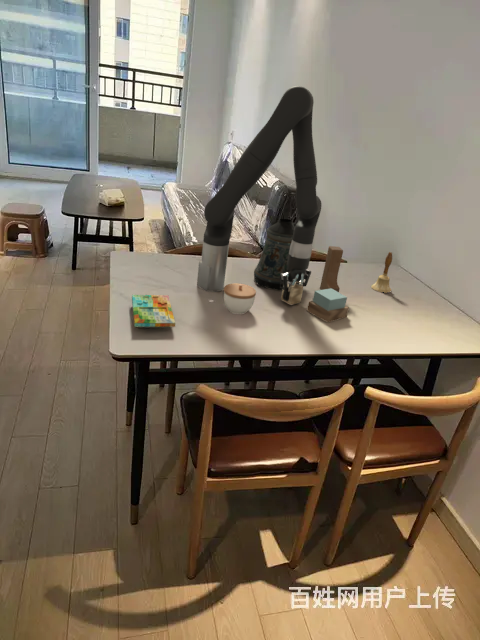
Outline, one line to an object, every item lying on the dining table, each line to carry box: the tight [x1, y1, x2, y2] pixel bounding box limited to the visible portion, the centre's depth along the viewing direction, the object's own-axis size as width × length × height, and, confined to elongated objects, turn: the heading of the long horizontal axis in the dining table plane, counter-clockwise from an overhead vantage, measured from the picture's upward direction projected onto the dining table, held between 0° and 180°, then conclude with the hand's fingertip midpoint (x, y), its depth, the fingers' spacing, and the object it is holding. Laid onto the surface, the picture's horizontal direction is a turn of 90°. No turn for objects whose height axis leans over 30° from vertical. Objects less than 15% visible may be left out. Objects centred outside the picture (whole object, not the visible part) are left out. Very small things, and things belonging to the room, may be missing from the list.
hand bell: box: [370, 251, 393, 294], centre depth 194 cm, size 8×8×16 cm
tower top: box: [312, 288, 348, 311], centre depth 165 cm, size 8×8×4 cm
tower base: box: [306, 300, 350, 323], centre depth 167 cm, size 10×10×4 cm
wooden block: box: [319, 245, 344, 293], centre depth 181 cm, size 9×4×18 cm, turn 9°
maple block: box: [280, 282, 304, 306], centre depth 170 cm, size 5×5×6 cm
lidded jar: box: [223, 282, 257, 315], centre depth 159 cm, size 11×11×9 cm
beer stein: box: [253, 218, 297, 291], centre depth 185 cm, size 16×19×25 cm
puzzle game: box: [131, 294, 176, 328], centre depth 147 cm, size 12×5×20 cm
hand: (291, 298), depth 171 cm, fingers closed on maple block, 5 cm apart
